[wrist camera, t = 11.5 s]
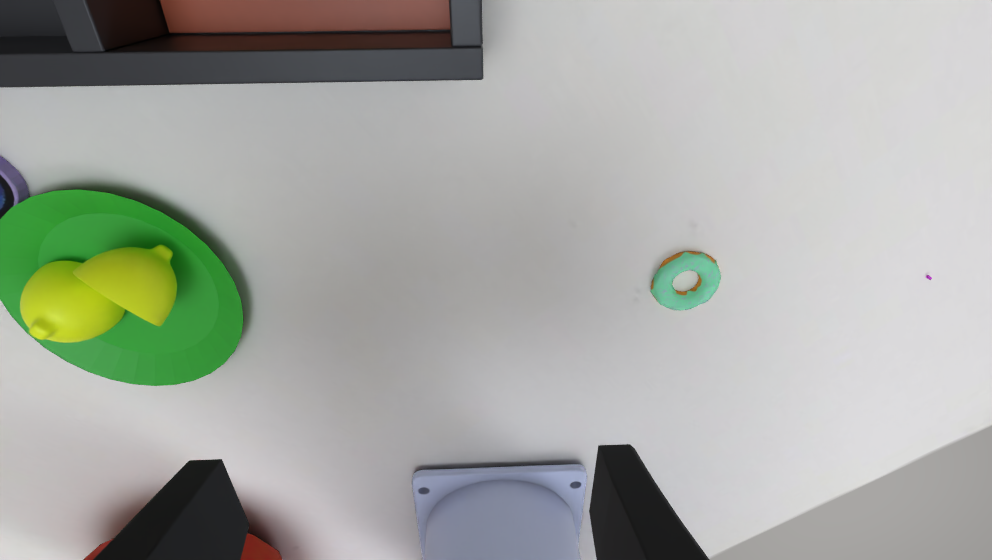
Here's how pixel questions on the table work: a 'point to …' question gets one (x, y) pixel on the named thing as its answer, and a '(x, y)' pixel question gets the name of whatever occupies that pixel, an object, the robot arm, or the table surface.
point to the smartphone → (11, 187)
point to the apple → (255, 553)
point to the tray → (237, 41)
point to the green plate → (117, 288)
